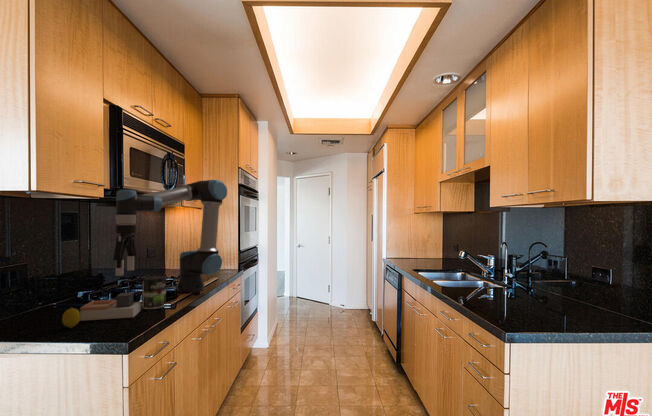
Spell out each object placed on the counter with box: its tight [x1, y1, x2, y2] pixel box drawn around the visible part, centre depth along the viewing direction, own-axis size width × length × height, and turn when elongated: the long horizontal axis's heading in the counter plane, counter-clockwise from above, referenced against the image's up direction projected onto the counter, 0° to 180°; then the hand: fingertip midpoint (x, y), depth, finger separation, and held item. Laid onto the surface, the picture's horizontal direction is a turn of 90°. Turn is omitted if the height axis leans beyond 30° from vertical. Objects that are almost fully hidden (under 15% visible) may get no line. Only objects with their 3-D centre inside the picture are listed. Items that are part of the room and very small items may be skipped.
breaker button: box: [115, 292, 134, 308], centre depth 142 cm, size 5×5×6 cm
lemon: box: [61, 307, 80, 329], centre depth 125 cm, size 6×6×8 cm
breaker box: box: [79, 299, 142, 322], centre depth 140 cm, size 20×10×6 cm, turn 103°
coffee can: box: [141, 274, 167, 310], centre depth 154 cm, size 10×10×14 cm
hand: (125, 272), depth 142 cm, fingers open, 12 cm apart
